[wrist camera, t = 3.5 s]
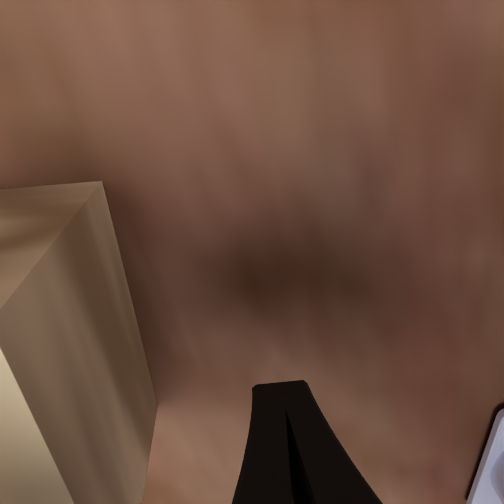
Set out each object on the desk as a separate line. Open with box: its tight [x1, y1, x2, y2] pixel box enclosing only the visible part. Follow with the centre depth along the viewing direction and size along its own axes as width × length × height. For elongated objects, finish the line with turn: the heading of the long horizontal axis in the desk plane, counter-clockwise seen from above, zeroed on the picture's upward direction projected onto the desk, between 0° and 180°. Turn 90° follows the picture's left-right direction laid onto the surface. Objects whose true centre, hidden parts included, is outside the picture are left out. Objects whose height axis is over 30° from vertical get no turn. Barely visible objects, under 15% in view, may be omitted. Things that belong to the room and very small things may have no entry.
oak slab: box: [0, 181, 158, 504], centre depth 12 cm, size 4×10×7 cm, turn 3°
